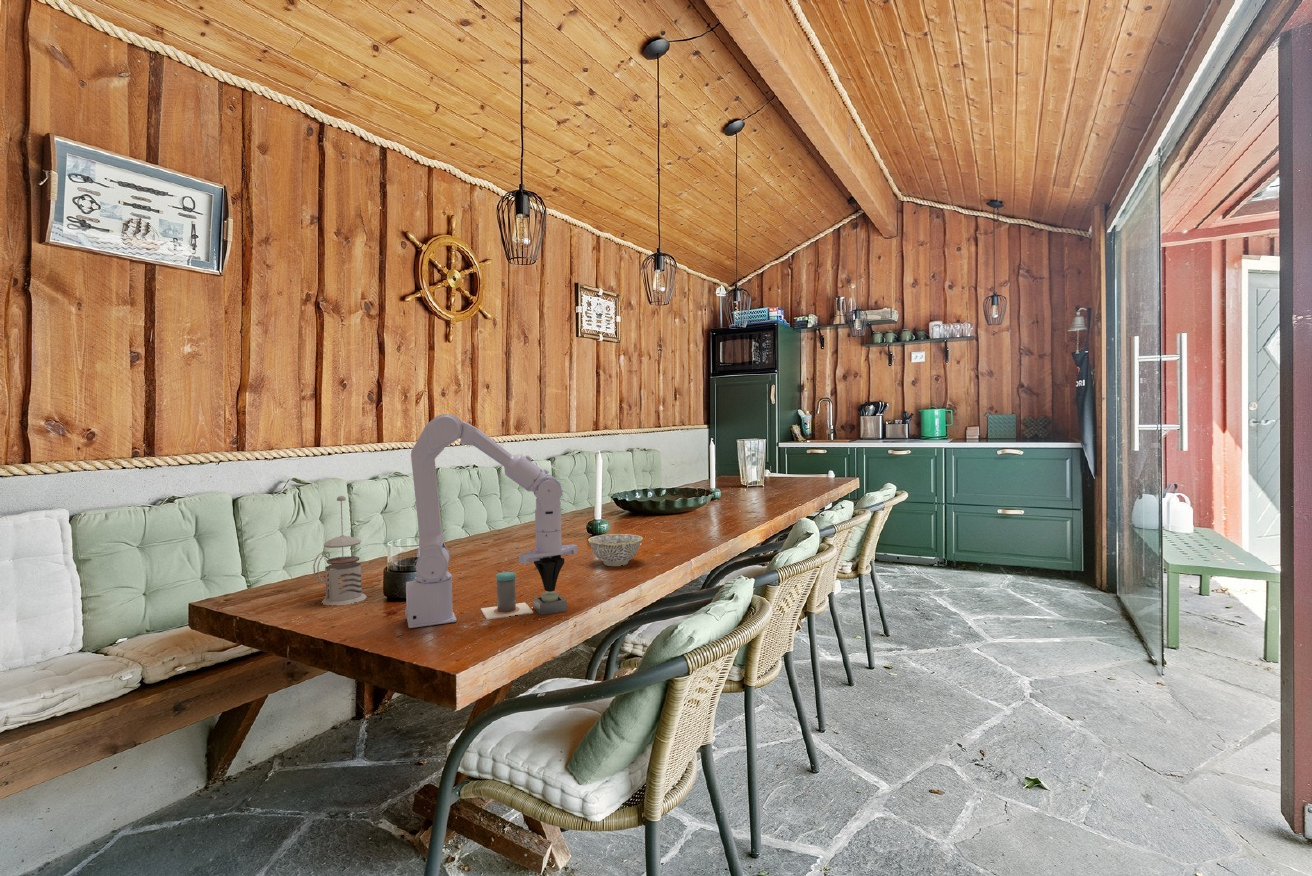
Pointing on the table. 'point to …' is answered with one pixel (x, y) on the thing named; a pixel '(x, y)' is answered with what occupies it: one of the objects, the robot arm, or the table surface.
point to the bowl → (615, 548)
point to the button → (549, 596)
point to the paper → (494, 614)
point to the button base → (549, 605)
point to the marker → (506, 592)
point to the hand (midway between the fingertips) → (549, 590)
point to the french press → (342, 572)
